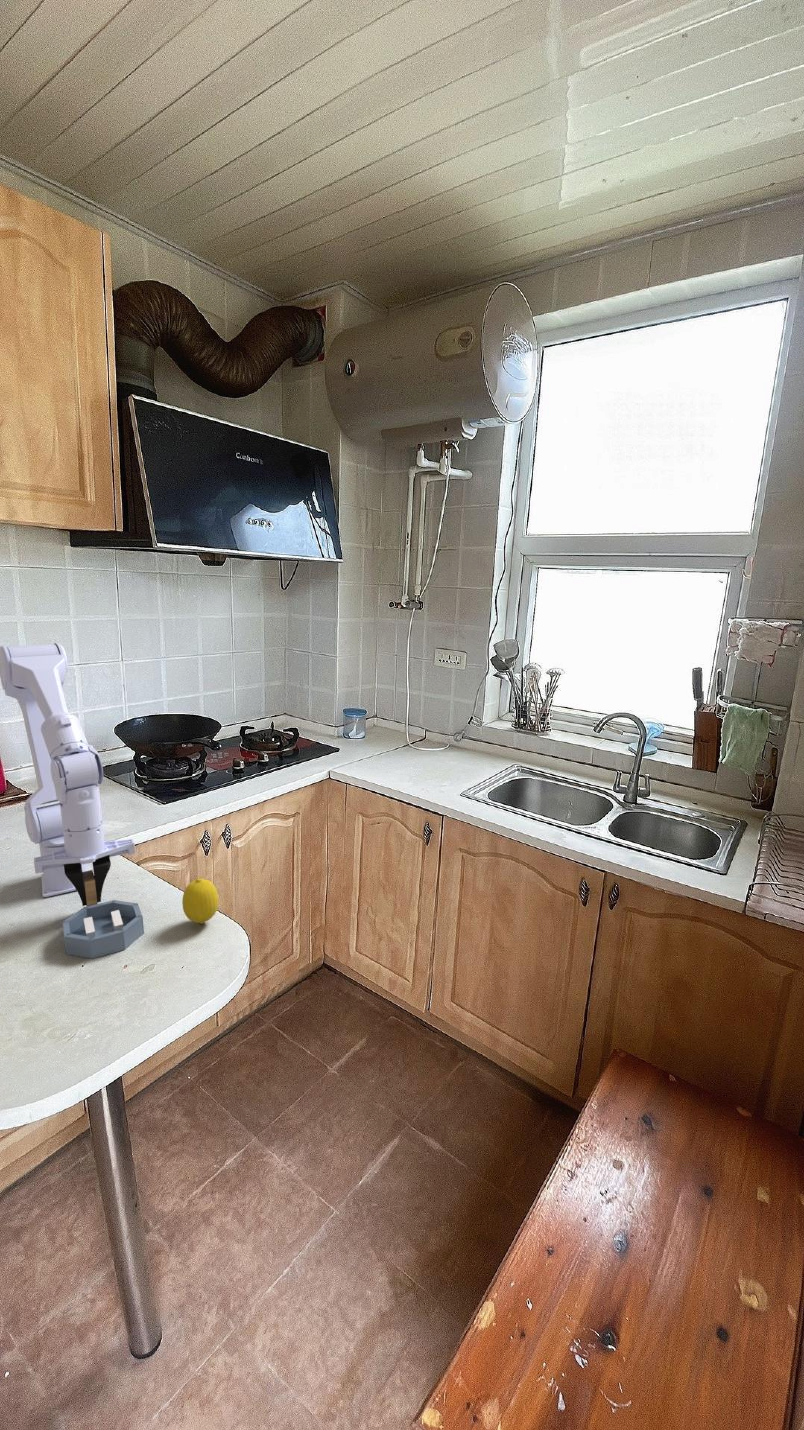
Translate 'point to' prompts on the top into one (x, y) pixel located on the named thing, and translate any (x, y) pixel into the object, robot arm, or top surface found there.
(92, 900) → the brown wooden plank
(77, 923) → the octagonal blue tray
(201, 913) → the lemon
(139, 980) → the top surface
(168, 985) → the top surface
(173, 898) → the top surface
